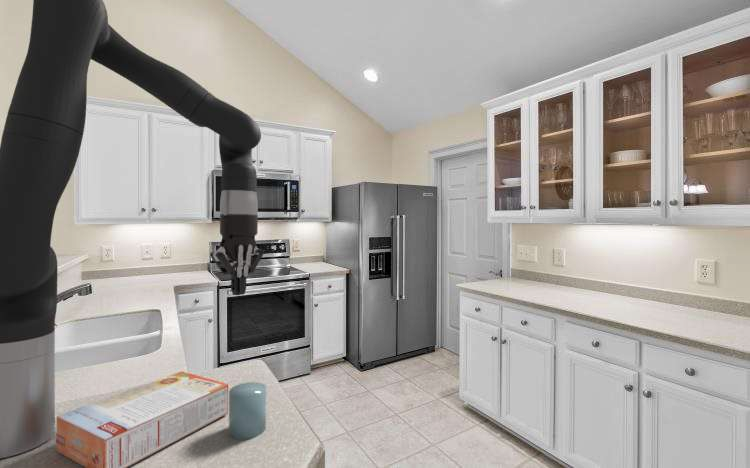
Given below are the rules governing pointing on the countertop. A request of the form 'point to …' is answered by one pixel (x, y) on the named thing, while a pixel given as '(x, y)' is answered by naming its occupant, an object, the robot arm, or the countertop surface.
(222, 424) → the countertop surface
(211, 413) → the cracker box
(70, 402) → the countertop surface
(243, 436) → the pale blue rounded cylinder
